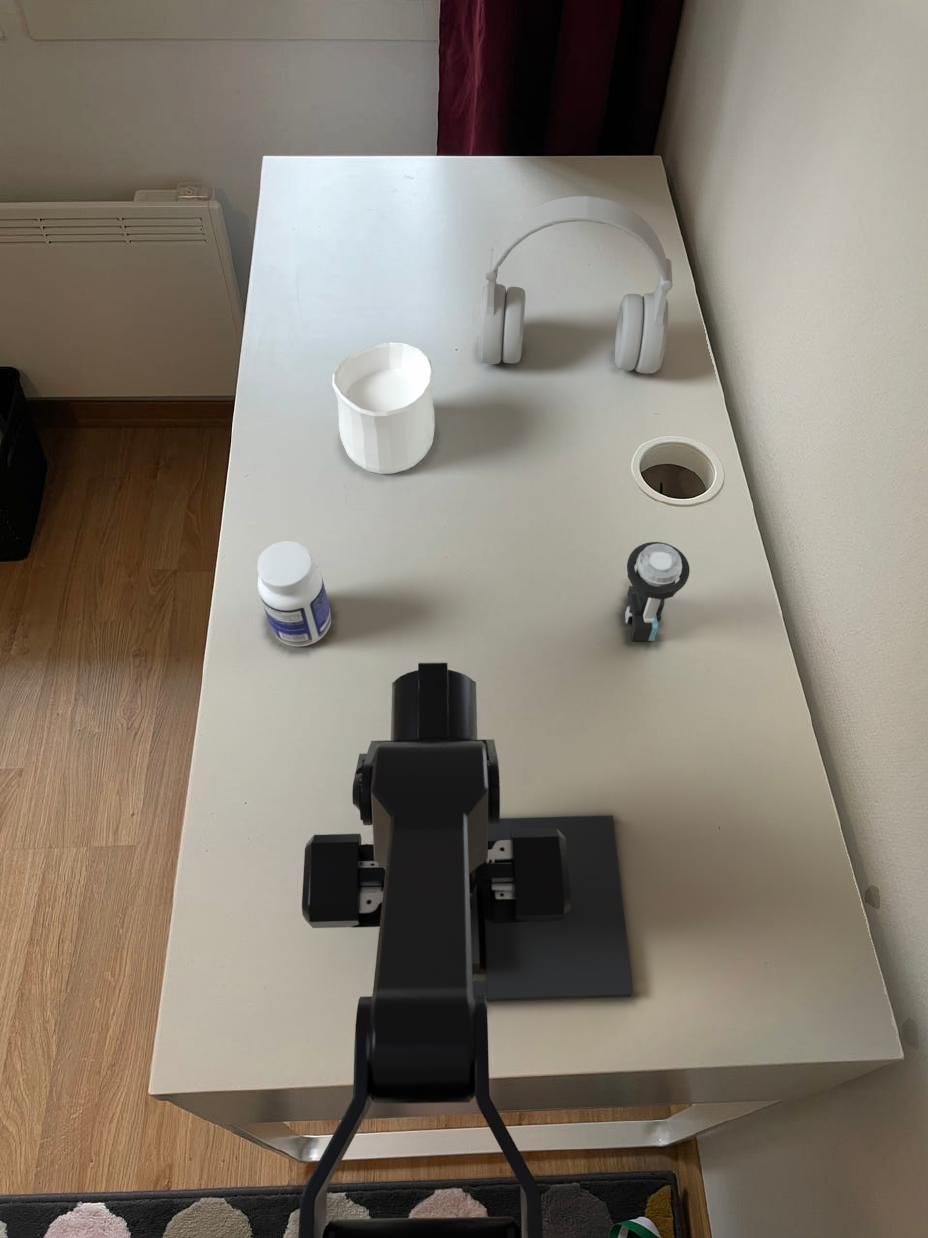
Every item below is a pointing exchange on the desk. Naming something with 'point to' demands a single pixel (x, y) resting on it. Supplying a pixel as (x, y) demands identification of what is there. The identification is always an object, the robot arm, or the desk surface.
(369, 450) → the cup
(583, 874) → the base pad
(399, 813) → the robot arm
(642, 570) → the push button
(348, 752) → the desk surface
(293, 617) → the pill bottle
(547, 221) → the headphones
